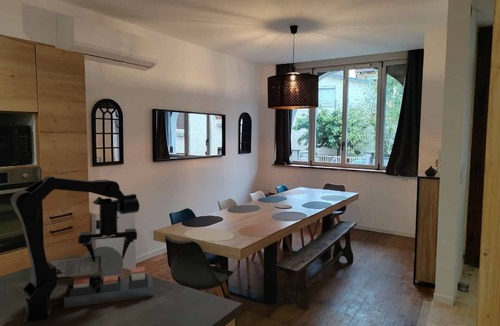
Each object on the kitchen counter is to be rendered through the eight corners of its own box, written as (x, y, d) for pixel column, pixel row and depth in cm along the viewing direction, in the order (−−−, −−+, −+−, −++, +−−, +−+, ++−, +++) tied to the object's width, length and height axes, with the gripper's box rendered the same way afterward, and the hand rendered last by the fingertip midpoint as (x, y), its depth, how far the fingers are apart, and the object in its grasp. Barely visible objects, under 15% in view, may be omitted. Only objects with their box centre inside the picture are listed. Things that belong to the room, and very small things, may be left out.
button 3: (88, 290, 117) (88, 281, 116) (73, 292, 115) (73, 283, 115) (89, 285, 121) (89, 276, 121) (75, 286, 119) (75, 278, 119)
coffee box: (53, 270, 125) (102, 265, 131) (51, 288, 122) (102, 282, 127) (49, 260, 119) (101, 255, 124) (47, 279, 115) (100, 273, 120)
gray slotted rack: (153, 295, 123) (153, 279, 123) (64, 308, 113) (63, 290, 113) (151, 284, 132) (151, 269, 132) (68, 295, 123) (67, 278, 122)
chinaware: (132, 271, 139) (131, 264, 133) (100, 300, 131) (98, 294, 125) (106, 246, 143) (105, 238, 137) (73, 273, 134) (70, 266, 128)
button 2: (117, 288, 120) (117, 279, 120) (103, 290, 118) (103, 281, 118) (117, 283, 124) (117, 275, 124) (104, 285, 122) (103, 276, 122)
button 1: (145, 279, 123) (145, 270, 123) (131, 281, 121) (131, 272, 121) (144, 274, 127) (144, 266, 127) (131, 276, 125) (131, 268, 125)
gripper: (135, 210, 134) (135, 251, 134) (81, 213, 127) (81, 255, 128) (137, 216, 123) (137, 260, 124) (78, 219, 117) (78, 265, 117)
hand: (108, 260), depth 124 cm, fingers open, 9 cm apart
